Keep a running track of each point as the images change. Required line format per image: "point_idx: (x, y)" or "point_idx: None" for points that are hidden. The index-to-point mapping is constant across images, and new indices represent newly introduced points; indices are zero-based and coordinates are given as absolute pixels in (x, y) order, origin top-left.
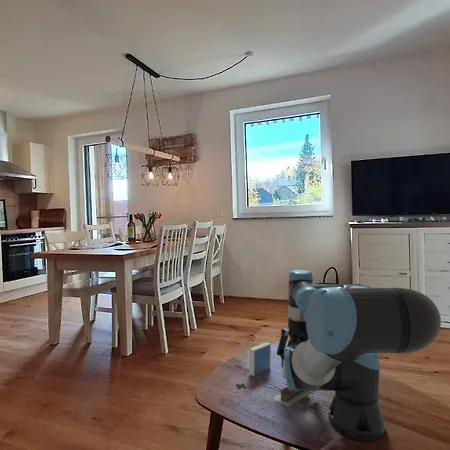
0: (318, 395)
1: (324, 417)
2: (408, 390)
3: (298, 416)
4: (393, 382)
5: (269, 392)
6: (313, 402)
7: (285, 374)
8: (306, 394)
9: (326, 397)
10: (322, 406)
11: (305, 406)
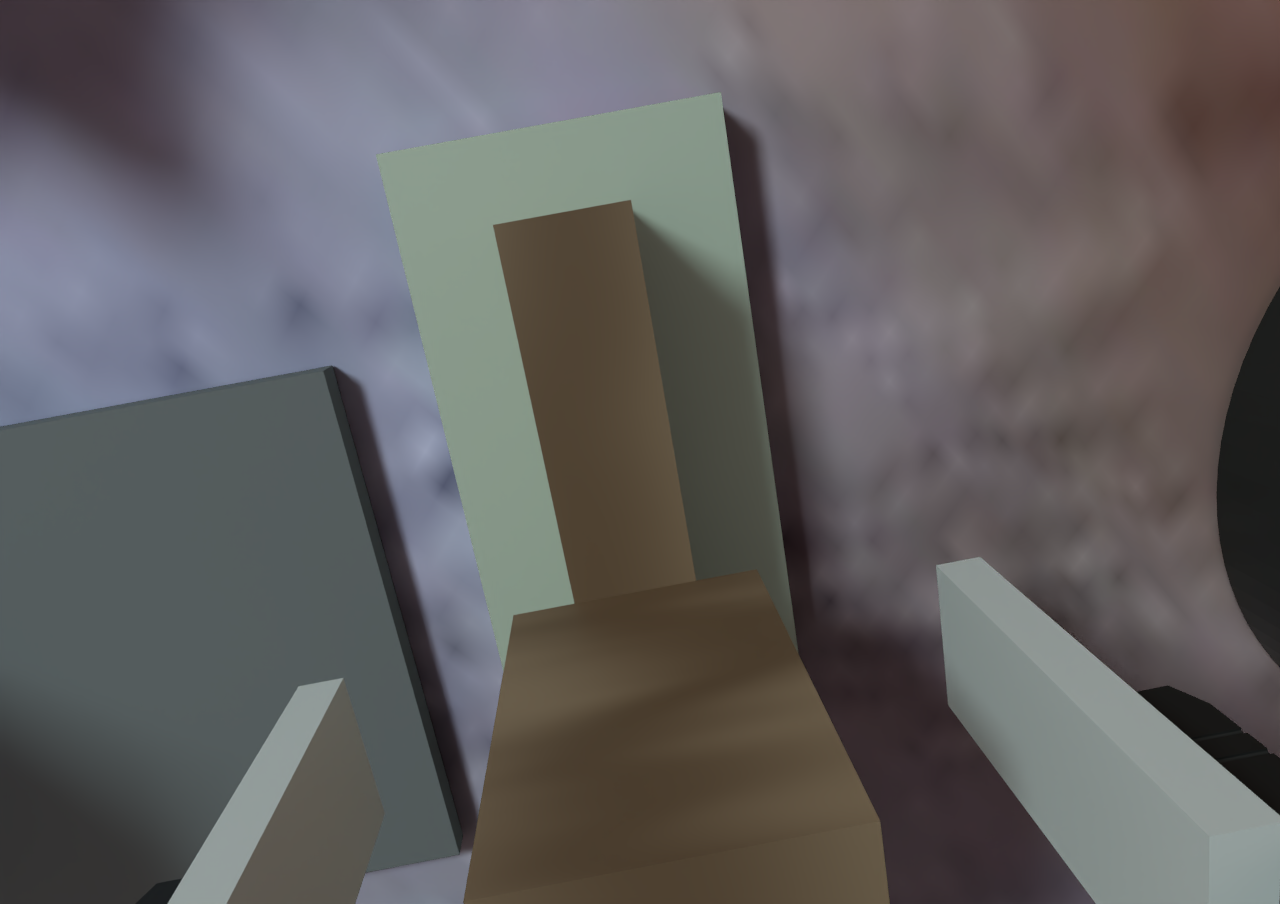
0: (823, 350)
1: (1207, 658)
2: None
3: (993, 894)
4: None
5: (377, 899)
6: (906, 550)
7: (356, 852)
8: (770, 572)
9: (936, 280)
10: (1047, 511)
11: (904, 703)
